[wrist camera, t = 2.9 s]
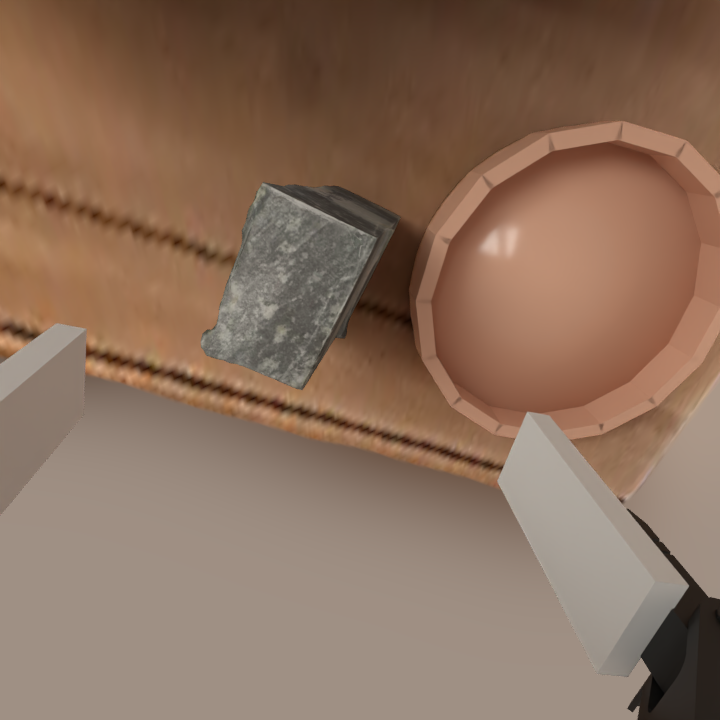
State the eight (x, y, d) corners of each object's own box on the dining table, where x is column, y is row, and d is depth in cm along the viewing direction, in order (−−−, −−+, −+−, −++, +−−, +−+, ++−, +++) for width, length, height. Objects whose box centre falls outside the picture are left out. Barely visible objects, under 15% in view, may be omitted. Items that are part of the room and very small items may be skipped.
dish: (376, 392, 40) (381, 415, 37) (465, 83, 31) (482, 78, 28) (622, 437, 43) (646, 461, 40) (763, 172, 35) (807, 176, 32)
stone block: (285, 302, 36) (350, 336, 36) (186, 364, 23) (288, 419, 23) (338, 183, 33) (409, 220, 33) (259, 174, 20) (378, 237, 20)
